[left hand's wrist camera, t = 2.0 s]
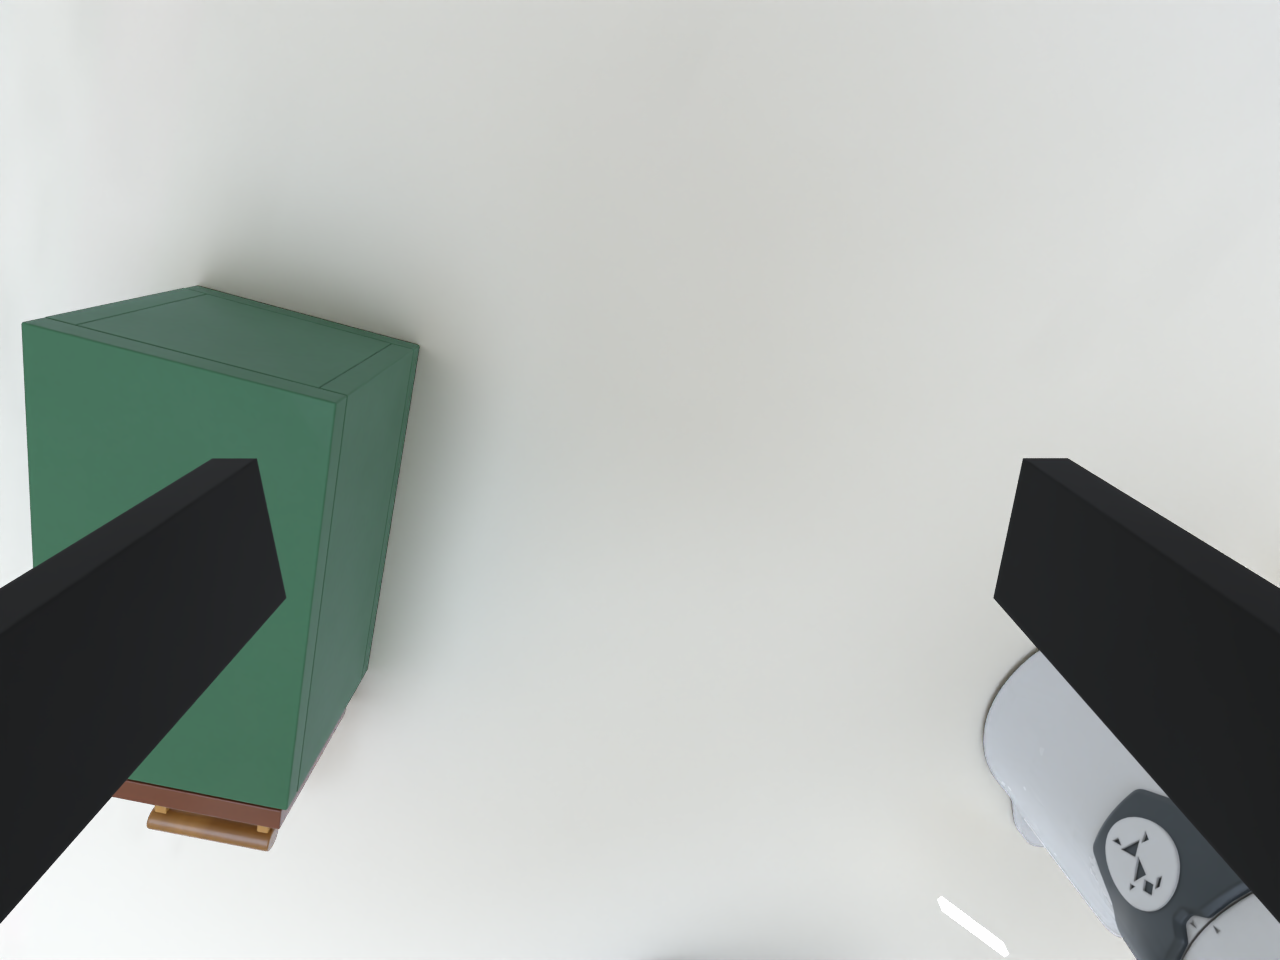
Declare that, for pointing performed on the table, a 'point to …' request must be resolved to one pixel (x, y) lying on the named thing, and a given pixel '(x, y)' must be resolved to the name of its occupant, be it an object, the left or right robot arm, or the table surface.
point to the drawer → (210, 813)
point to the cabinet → (292, 482)
